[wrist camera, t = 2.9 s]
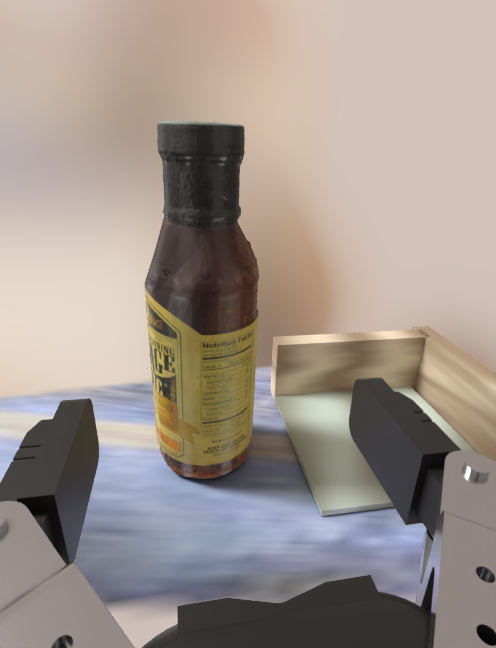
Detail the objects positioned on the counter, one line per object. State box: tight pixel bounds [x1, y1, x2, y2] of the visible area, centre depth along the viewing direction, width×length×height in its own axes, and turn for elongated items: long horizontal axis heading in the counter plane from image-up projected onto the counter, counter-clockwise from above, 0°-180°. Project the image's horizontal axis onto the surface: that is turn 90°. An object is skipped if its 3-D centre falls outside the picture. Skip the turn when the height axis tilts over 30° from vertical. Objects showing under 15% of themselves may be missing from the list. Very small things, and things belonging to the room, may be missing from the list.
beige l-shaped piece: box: [271, 327, 496, 516], centre depth 29 cm, size 14×14×5 cm
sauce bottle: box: [145, 121, 259, 479], centre depth 23 cm, size 7×6×20 cm
